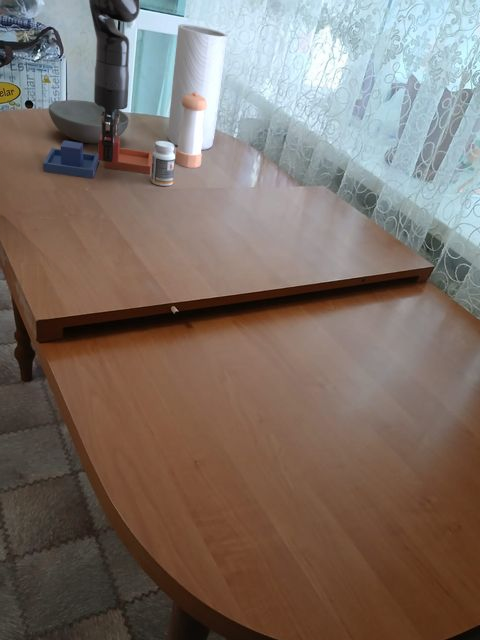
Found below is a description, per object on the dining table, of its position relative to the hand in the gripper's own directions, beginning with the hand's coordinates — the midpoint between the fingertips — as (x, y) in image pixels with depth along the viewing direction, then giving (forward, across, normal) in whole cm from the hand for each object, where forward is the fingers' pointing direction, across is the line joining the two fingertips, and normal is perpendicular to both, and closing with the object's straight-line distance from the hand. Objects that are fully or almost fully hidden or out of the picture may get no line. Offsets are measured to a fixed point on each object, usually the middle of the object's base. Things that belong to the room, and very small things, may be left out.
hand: (108, 157), depth 134 cm
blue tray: (+5, -3, -9) cm, 11 cm away
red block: (0, 0, 0) cm, 0 cm away
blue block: (+4, -3, -9) cm, 11 cm away
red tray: (+5, -12, +4) cm, 13 cm away
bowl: (+5, -26, -8) cm, 28 cm away
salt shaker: (+5, -19, +20) cm, 28 cm away
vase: (+5, -38, +22) cm, 44 cm away
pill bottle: (+5, -1, +13) cm, 14 cm away
